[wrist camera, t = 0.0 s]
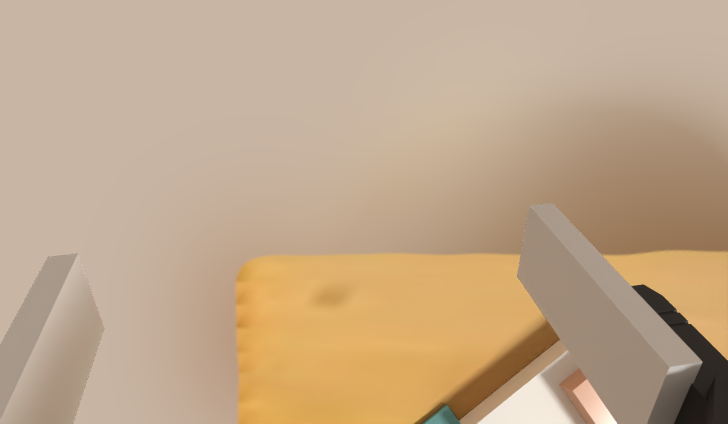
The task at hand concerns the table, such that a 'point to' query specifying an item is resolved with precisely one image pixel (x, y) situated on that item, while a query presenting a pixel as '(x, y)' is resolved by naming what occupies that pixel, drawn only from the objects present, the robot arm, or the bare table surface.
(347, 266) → the table surface
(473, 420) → the panel
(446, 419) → the mat
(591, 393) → the tile
